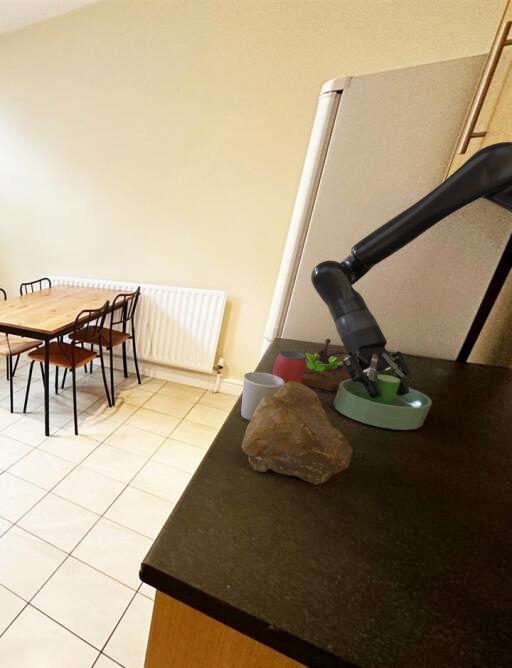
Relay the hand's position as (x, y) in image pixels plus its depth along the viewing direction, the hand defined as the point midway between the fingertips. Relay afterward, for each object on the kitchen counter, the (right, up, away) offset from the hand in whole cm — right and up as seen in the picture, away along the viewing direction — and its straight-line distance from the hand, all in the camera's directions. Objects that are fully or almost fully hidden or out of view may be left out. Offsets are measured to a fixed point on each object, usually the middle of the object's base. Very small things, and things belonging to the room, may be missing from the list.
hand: (390, 395), depth 95 cm
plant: (+2, +5, +25) cm, 25 cm away
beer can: (-16, -1, +14) cm, 21 cm away
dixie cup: (-28, -5, +5) cm, 29 cm away
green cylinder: (0, -4, +4) cm, 6 cm away
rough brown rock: (-33, -14, -13) cm, 38 cm away
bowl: (0, -5, +4) cm, 6 cm away
